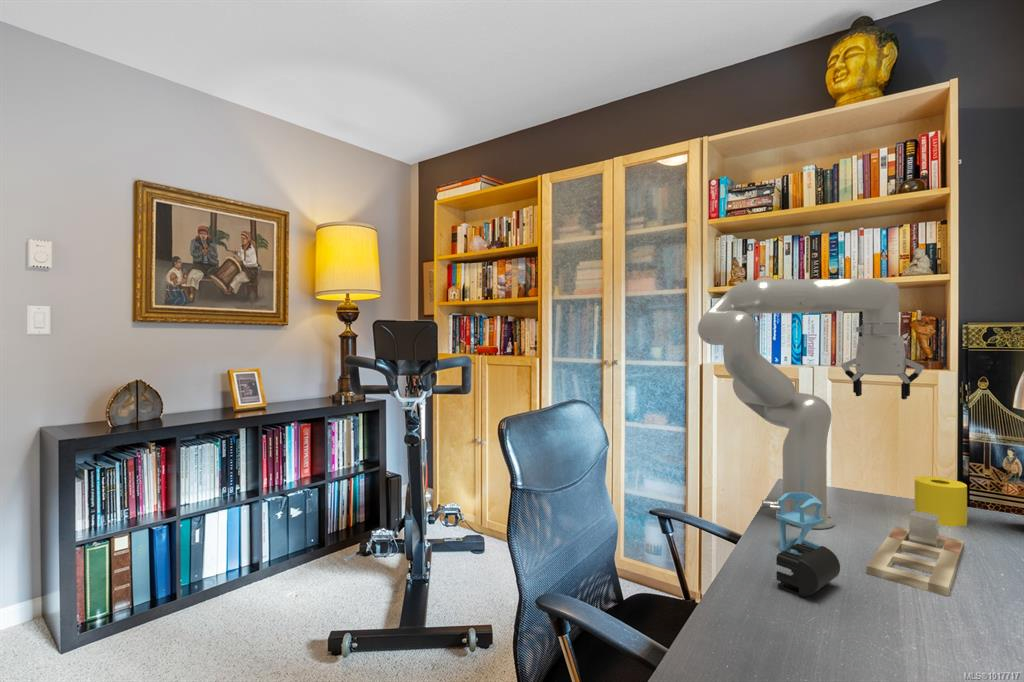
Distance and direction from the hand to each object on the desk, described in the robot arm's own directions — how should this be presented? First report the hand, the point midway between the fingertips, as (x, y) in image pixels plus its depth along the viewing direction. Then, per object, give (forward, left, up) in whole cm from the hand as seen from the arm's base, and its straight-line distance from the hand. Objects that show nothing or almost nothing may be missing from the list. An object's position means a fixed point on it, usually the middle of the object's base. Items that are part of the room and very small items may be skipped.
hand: (880, 397), depth 129 cm
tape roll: (+13, 0, -31) cm, 33 cm away
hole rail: (-4, -29, -30) cm, 42 cm away
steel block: (0, -21, -30) cm, 37 cm away
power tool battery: (-29, -48, -31) cm, 64 cm away
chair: (-26, -30, -31) cm, 50 cm away
